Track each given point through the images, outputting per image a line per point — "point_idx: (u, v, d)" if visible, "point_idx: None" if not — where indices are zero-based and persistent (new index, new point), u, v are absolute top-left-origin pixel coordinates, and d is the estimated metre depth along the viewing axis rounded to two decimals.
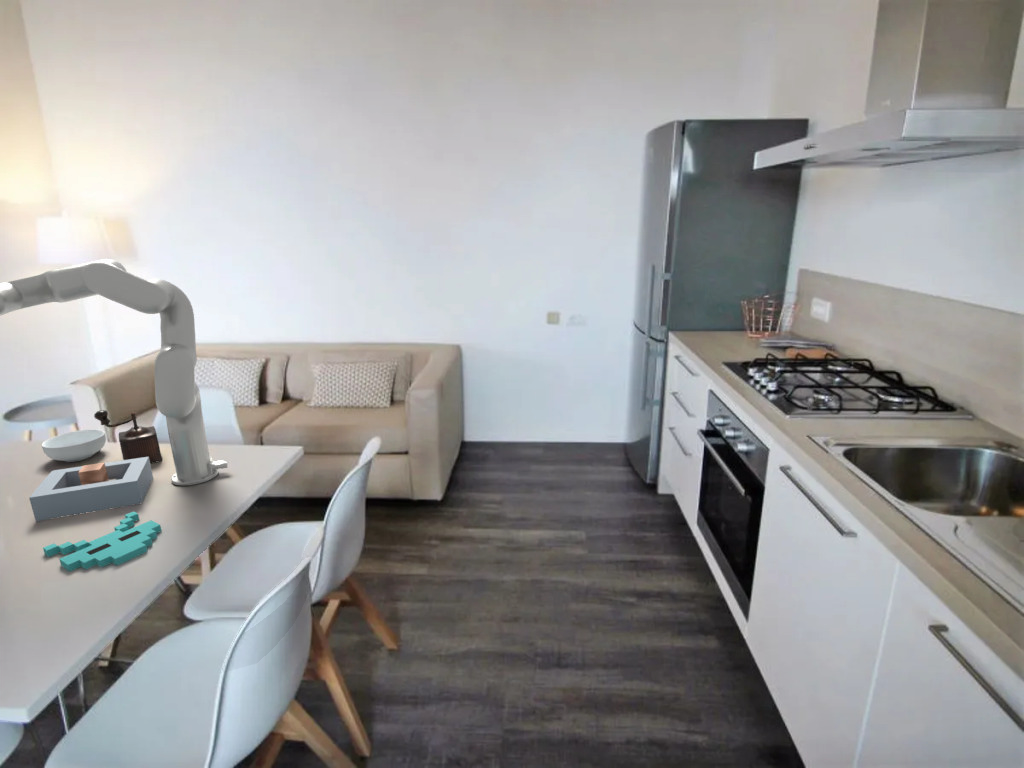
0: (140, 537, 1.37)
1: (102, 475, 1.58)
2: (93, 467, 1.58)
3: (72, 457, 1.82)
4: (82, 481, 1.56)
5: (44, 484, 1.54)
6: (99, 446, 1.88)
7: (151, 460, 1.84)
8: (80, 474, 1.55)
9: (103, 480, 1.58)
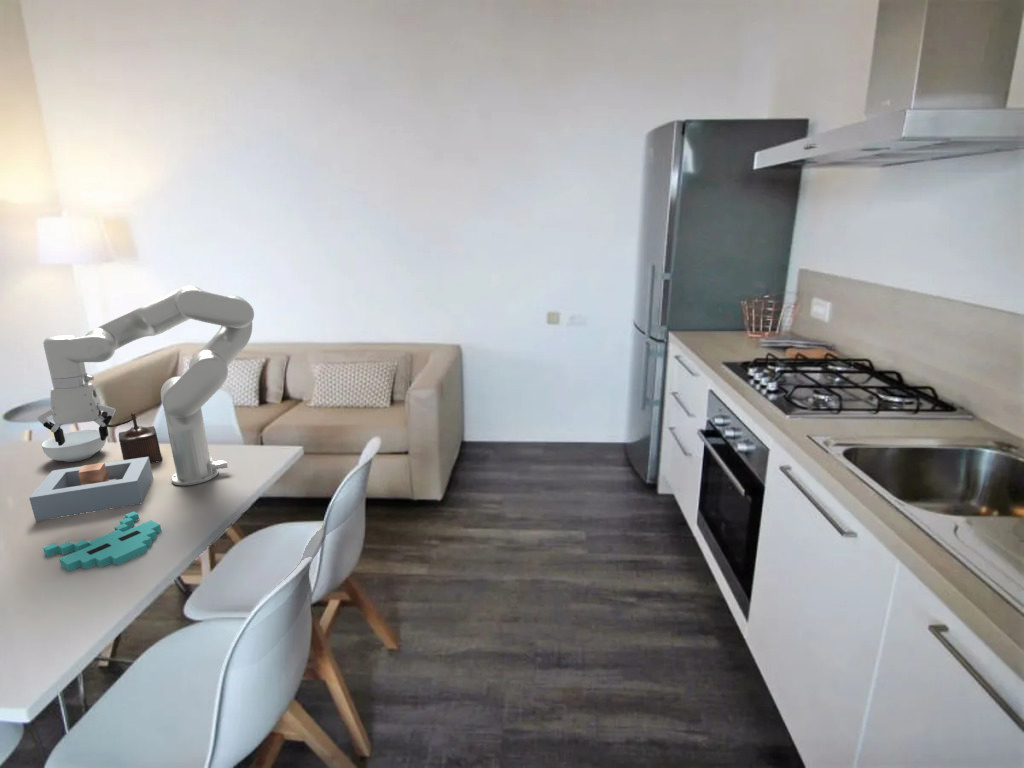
0: (140, 537, 1.37)
1: (102, 475, 1.58)
2: (93, 467, 1.58)
3: (72, 457, 1.82)
4: (82, 481, 1.56)
5: (44, 484, 1.54)
6: (99, 446, 1.88)
7: (151, 460, 1.84)
8: (80, 474, 1.55)
9: (103, 480, 1.58)
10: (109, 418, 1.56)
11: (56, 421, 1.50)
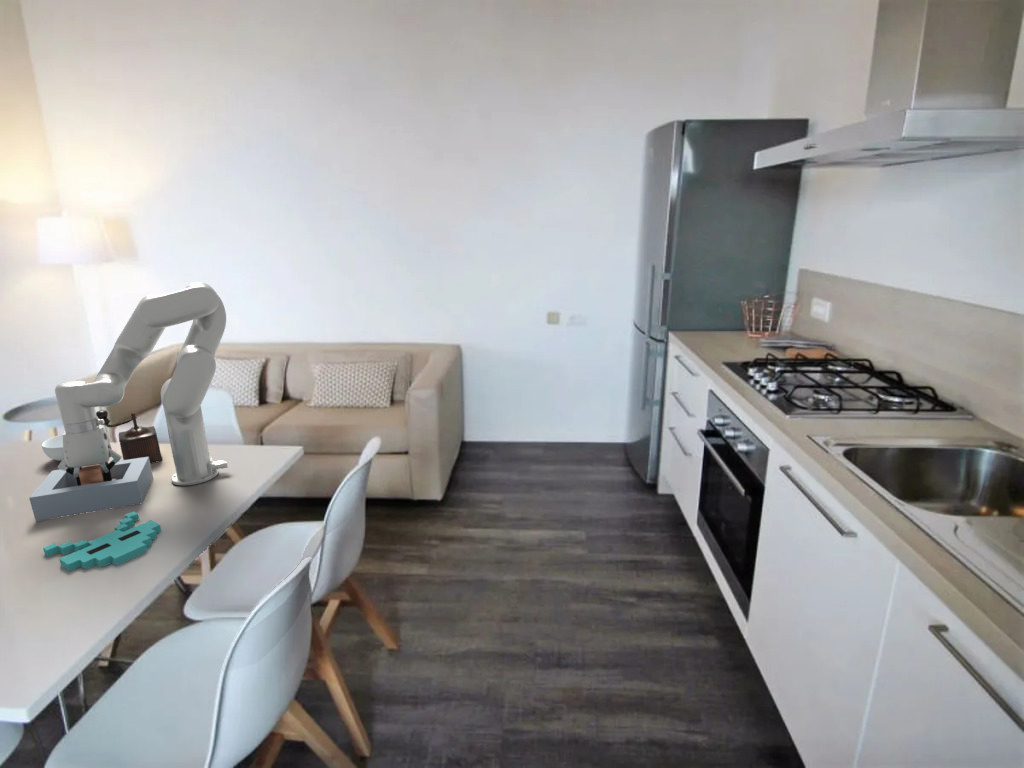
0: (140, 537, 1.37)
1: (102, 475, 1.58)
2: (93, 467, 1.58)
3: None
4: (82, 481, 1.56)
5: (44, 484, 1.54)
6: None
7: (151, 460, 1.84)
8: (80, 474, 1.55)
9: (102, 480, 1.58)
10: (112, 464, 1.59)
11: (68, 464, 1.54)
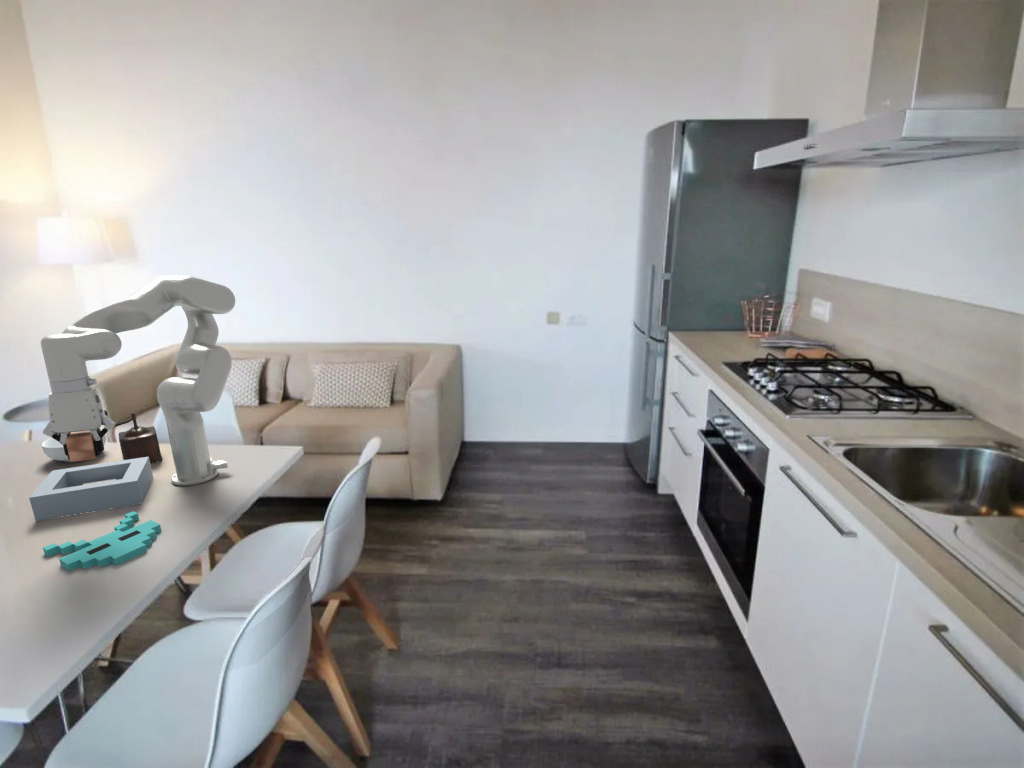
0: (140, 537, 1.37)
1: (92, 443, 1.39)
2: (83, 434, 1.39)
3: None
4: (69, 449, 1.37)
5: (44, 484, 1.54)
6: None
7: (151, 460, 1.84)
8: (67, 441, 1.36)
9: (93, 449, 1.39)
10: (104, 431, 1.40)
11: (55, 429, 1.35)
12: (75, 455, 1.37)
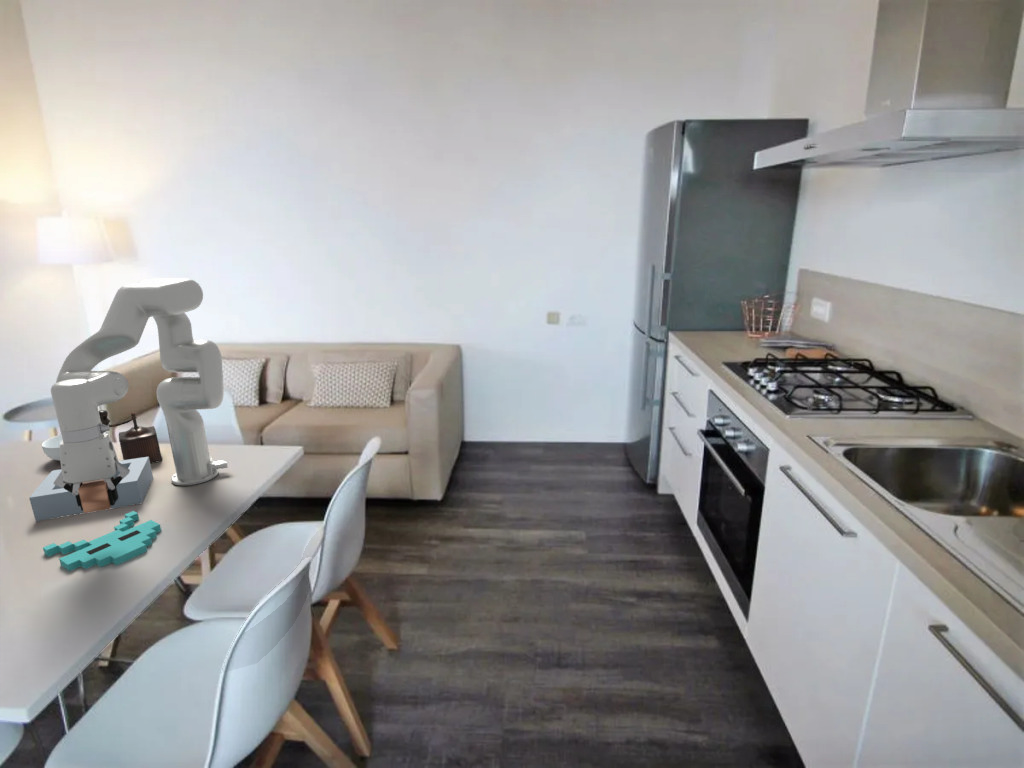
0: (140, 537, 1.37)
1: None
2: (96, 482, 1.32)
3: None
4: (83, 499, 1.30)
5: (44, 484, 1.54)
6: None
7: (151, 460, 1.84)
8: (80, 491, 1.29)
9: (107, 498, 1.32)
10: (119, 479, 1.33)
11: (67, 480, 1.28)
12: (89, 506, 1.30)
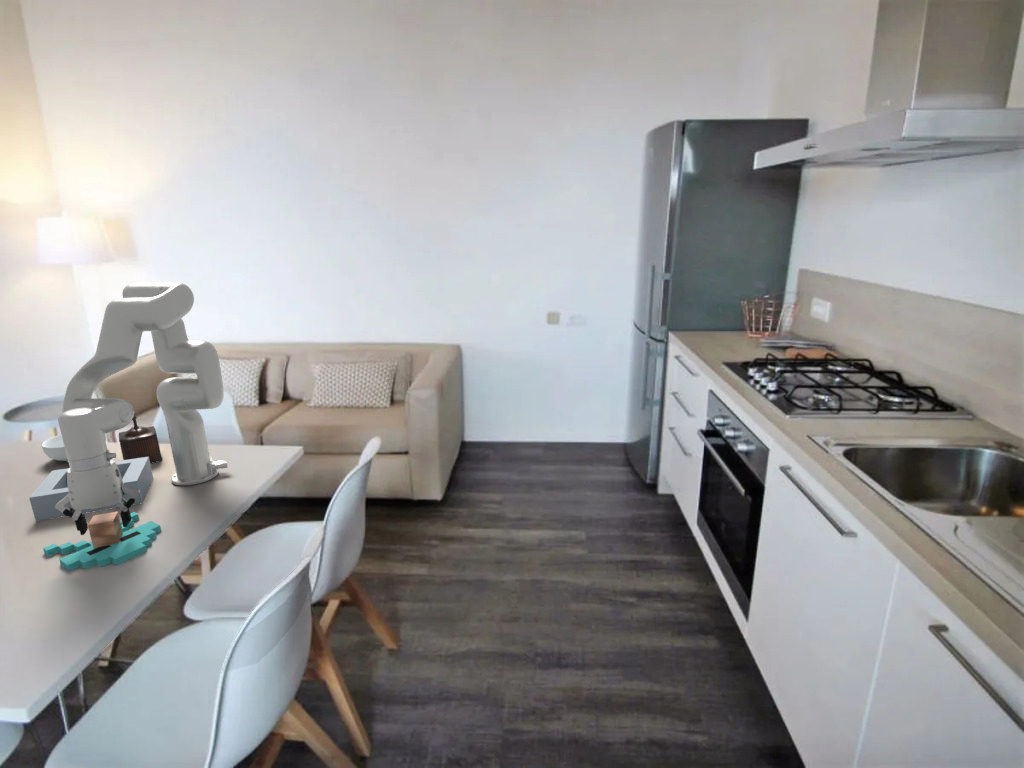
0: (140, 538, 1.37)
1: (115, 527, 1.35)
2: (105, 518, 1.35)
3: None
4: (92, 535, 1.33)
5: (44, 484, 1.54)
6: None
7: (151, 460, 1.84)
8: (90, 527, 1.32)
9: (116, 533, 1.35)
10: (132, 501, 1.35)
11: (74, 507, 1.30)
12: (98, 541, 1.33)
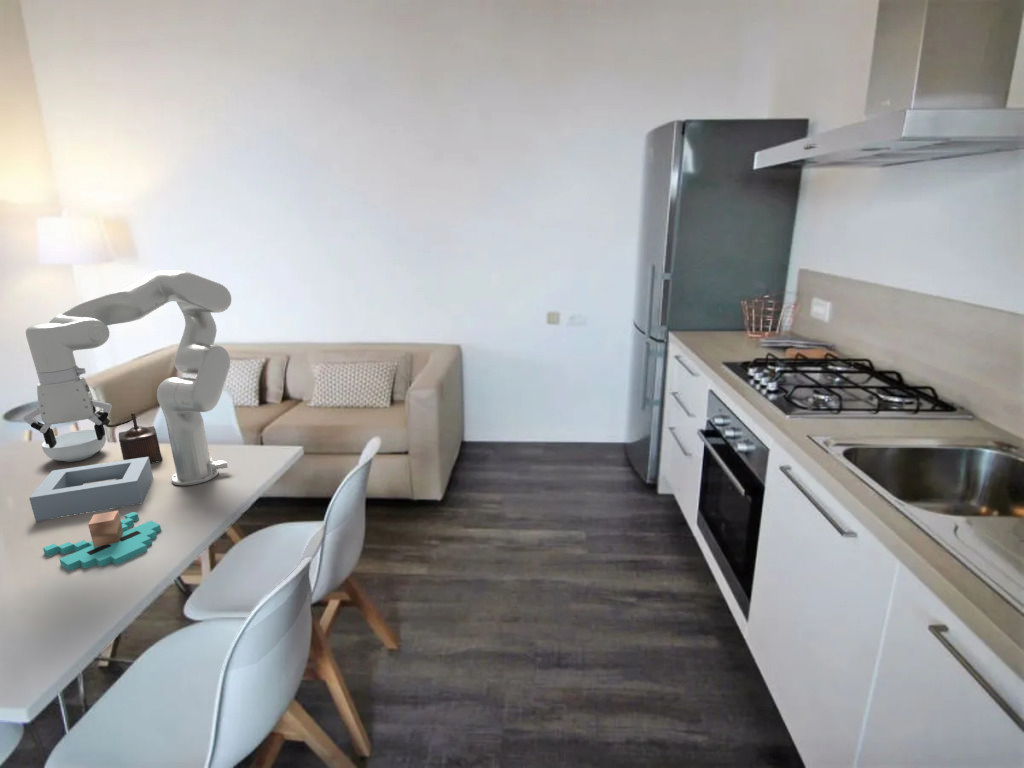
0: (140, 538, 1.37)
1: (116, 526, 1.35)
2: (105, 517, 1.35)
3: (72, 457, 1.82)
4: (93, 534, 1.33)
5: (44, 484, 1.54)
6: (99, 446, 1.88)
7: (151, 460, 1.84)
8: (90, 526, 1.32)
9: (117, 532, 1.35)
10: (105, 415, 1.39)
11: (45, 421, 1.33)
12: (98, 540, 1.34)
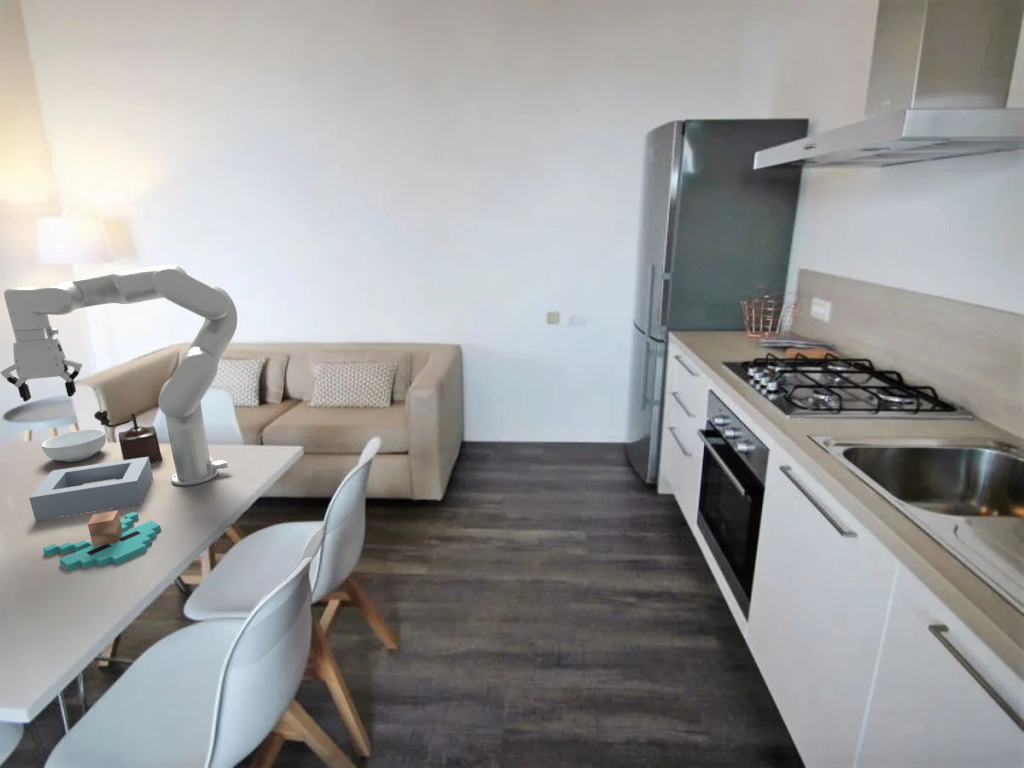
0: (140, 538, 1.37)
1: (115, 526, 1.35)
2: (105, 516, 1.35)
3: (72, 457, 1.82)
4: (92, 534, 1.33)
5: (44, 484, 1.54)
6: (99, 446, 1.88)
7: (151, 460, 1.84)
8: (90, 526, 1.33)
9: (116, 532, 1.35)
10: (76, 373, 1.52)
11: (20, 375, 1.46)
12: (98, 540, 1.34)
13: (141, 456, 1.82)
